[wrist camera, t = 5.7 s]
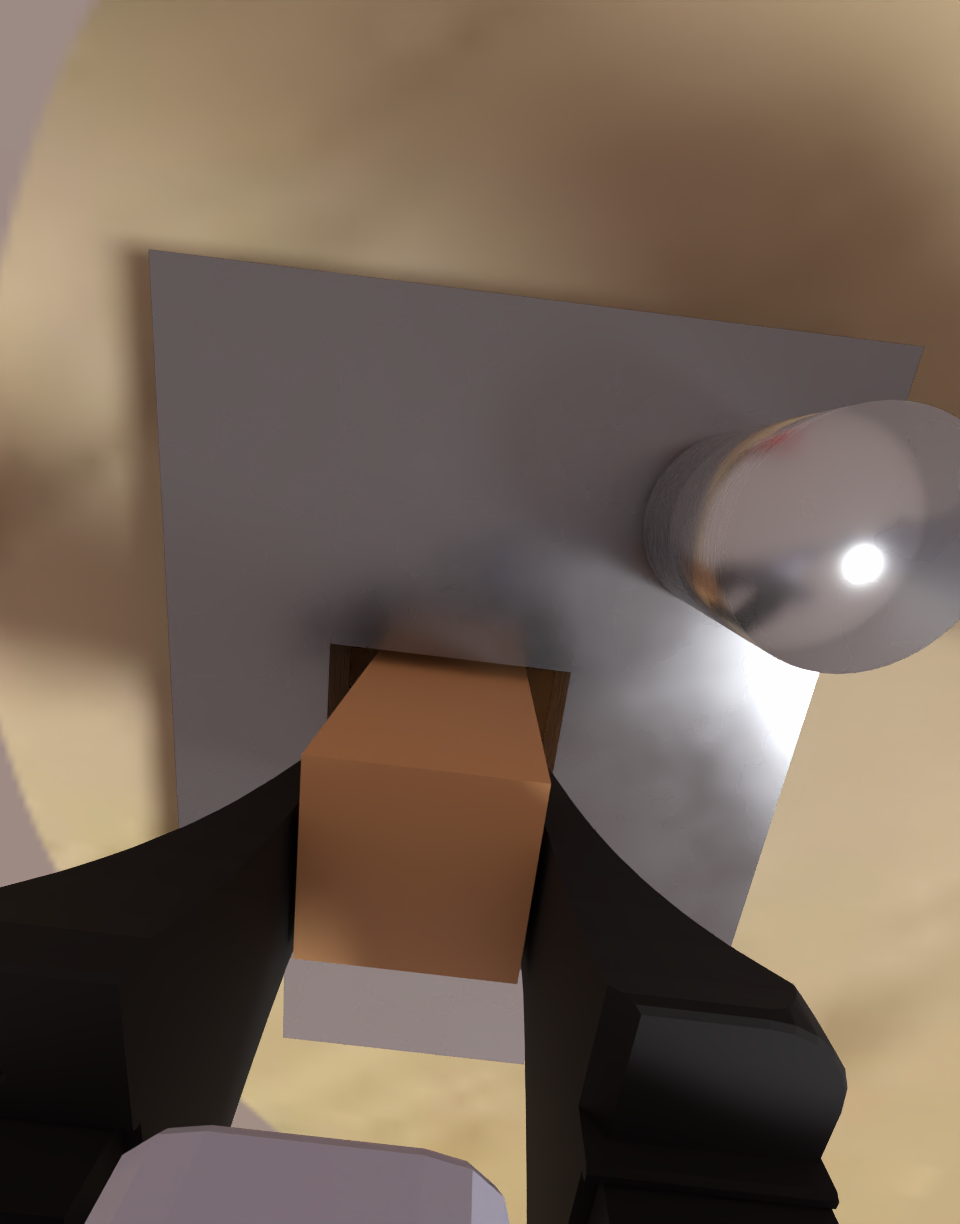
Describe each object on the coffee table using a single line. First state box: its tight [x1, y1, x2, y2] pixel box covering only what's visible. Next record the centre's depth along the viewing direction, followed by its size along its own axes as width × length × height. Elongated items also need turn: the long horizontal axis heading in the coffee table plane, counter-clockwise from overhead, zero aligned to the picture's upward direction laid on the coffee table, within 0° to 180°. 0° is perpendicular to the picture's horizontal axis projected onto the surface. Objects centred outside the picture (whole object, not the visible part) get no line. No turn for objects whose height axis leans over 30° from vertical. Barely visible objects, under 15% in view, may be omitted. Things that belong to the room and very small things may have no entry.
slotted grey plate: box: [149, 250, 960, 1064], centre depth 11 cm, size 16×18×6 cm
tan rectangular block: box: [293, 650, 551, 984], centre depth 11 cm, size 4×4×6 cm
